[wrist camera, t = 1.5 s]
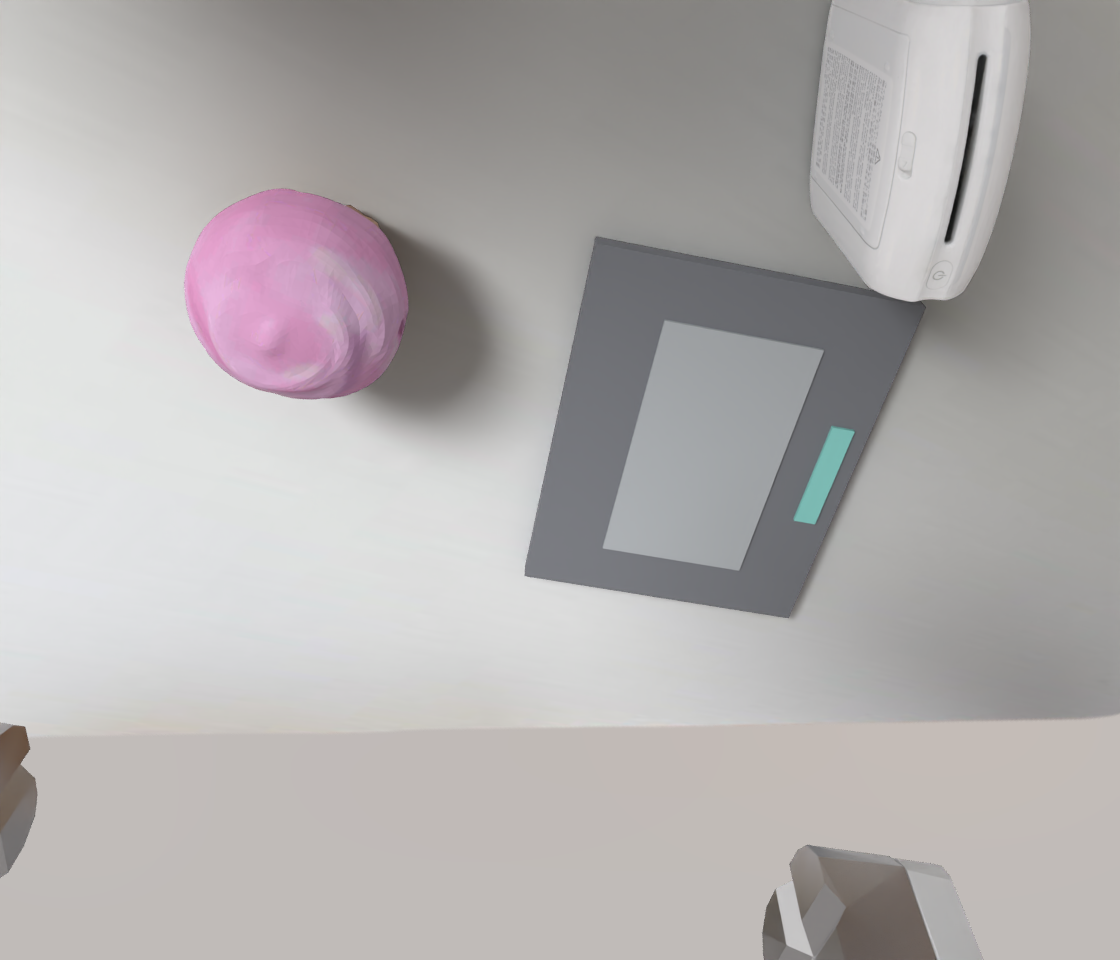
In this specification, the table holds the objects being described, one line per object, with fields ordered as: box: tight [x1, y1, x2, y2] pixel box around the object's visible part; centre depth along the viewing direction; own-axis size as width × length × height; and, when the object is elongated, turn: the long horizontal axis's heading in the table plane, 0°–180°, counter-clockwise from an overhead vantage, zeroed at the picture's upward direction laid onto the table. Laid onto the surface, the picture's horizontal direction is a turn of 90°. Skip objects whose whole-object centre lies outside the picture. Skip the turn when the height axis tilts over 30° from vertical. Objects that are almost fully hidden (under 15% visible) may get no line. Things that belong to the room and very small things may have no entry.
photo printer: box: [810, 0, 1031, 302], centre depth 33 cm, size 10×4×12 cm, turn 2°
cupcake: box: [184, 189, 409, 399], centre depth 38 cm, size 9×9×10 cm
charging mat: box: [525, 237, 926, 618], centre depth 47 cm, size 20×16×1 cm
